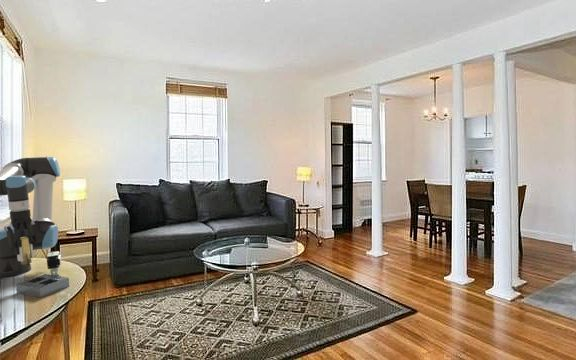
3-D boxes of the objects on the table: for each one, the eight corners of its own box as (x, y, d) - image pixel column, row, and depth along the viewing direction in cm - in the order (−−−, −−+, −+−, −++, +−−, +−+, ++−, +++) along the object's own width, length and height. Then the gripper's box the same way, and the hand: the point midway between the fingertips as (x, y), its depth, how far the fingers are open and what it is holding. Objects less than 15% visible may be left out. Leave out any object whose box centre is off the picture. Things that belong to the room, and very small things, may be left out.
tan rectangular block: (19, 263, 166) (15, 238, 164) (28, 261, 169) (25, 236, 168) (24, 264, 164) (21, 239, 163) (33, 261, 168) (30, 237, 166)
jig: (16, 293, 159) (15, 284, 158) (46, 282, 171) (45, 274, 170) (40, 297, 153) (39, 288, 152) (69, 286, 165) (68, 277, 164)
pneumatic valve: (48, 279, 174) (45, 255, 173) (50, 272, 184) (48, 249, 183) (61, 277, 177) (59, 253, 175) (63, 270, 187) (61, 247, 186)
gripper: (4, 214, 154) (11, 266, 157) (44, 206, 170) (49, 254, 173) (-7, 213, 157) (0, 264, 160) (33, 205, 173) (39, 252, 176)
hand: (25, 259), depth 166 cm, fingers closed on tan rectangular block, 4 cm apart
